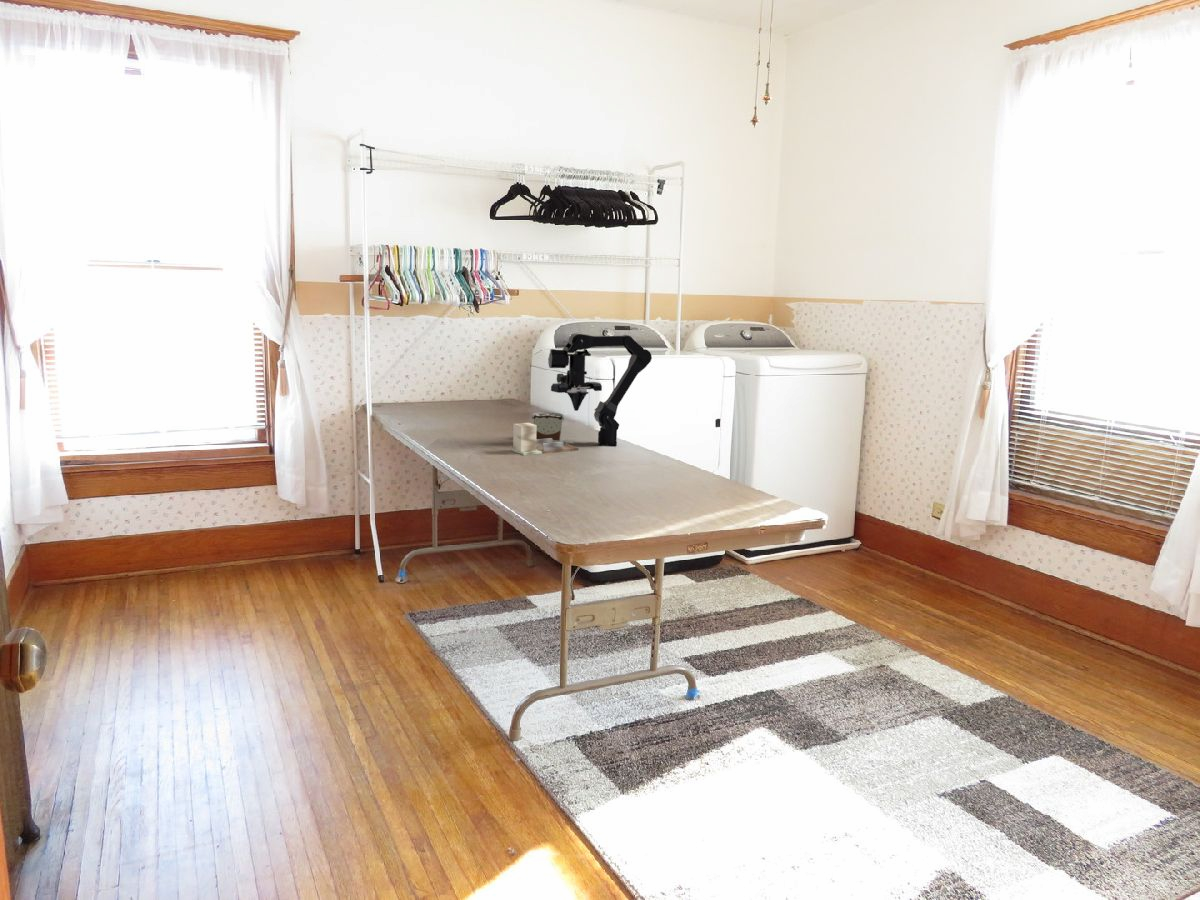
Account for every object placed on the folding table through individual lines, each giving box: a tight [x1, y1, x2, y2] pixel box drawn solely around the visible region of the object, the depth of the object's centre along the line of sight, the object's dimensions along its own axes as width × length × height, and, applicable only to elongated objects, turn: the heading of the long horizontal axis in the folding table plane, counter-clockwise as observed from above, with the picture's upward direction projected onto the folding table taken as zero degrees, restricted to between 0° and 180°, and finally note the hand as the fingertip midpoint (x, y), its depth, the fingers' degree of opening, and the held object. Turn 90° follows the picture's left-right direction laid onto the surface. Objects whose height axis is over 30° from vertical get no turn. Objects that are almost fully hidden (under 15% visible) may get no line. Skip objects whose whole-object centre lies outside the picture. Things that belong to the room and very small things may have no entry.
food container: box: [531, 411, 565, 442], centre depth 331 cm, size 12×6×10 cm, turn 84°
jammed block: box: [512, 422, 537, 452], centre depth 305 cm, size 6×6×9 cm
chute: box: [510, 438, 579, 456], centre depth 310 cm, size 22×10×3 cm, turn 123°
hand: (576, 410), depth 319 cm, fingers closed
